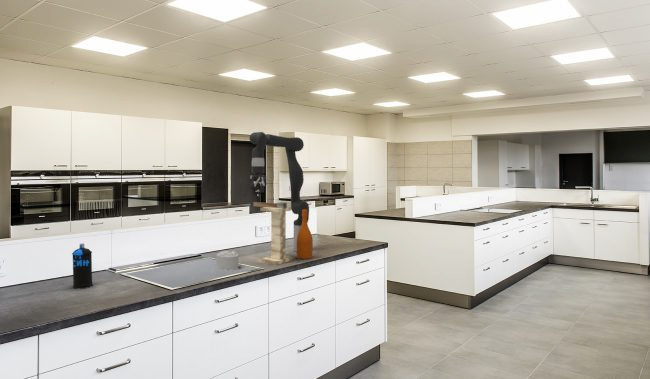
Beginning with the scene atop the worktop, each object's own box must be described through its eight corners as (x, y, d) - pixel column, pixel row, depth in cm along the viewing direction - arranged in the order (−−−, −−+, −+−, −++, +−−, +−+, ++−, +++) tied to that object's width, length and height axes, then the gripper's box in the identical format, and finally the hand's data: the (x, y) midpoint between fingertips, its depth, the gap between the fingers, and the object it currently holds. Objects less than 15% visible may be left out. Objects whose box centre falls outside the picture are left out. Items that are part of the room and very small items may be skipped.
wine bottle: (315, 257, 277) (315, 209, 275) (308, 260, 268) (308, 210, 266) (301, 255, 281) (301, 208, 279) (293, 258, 272) (293, 209, 270)
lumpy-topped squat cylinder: (229, 264, 256) (229, 249, 256) (243, 267, 247) (243, 252, 247) (214, 267, 249) (213, 251, 248) (227, 270, 240) (227, 254, 239)
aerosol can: (77, 284, 211) (76, 242, 210) (95, 283, 212) (94, 242, 211) (69, 288, 203) (68, 245, 202) (88, 288, 204) (87, 245, 203)
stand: (274, 257, 274) (274, 205, 272) (292, 260, 268) (292, 206, 266) (258, 262, 260) (258, 207, 259) (276, 265, 254) (276, 209, 252)
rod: (256, 205, 272) (256, 201, 271) (286, 207, 261) (286, 202, 261) (252, 206, 268) (252, 201, 268) (282, 208, 257) (282, 203, 257)
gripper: (256, 165, 259) (256, 193, 260) (270, 165, 272) (270, 192, 273) (245, 165, 263) (245, 193, 263) (259, 165, 275) (259, 191, 276)
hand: (258, 192), depth 268 cm, fingers open, 8 cm apart
